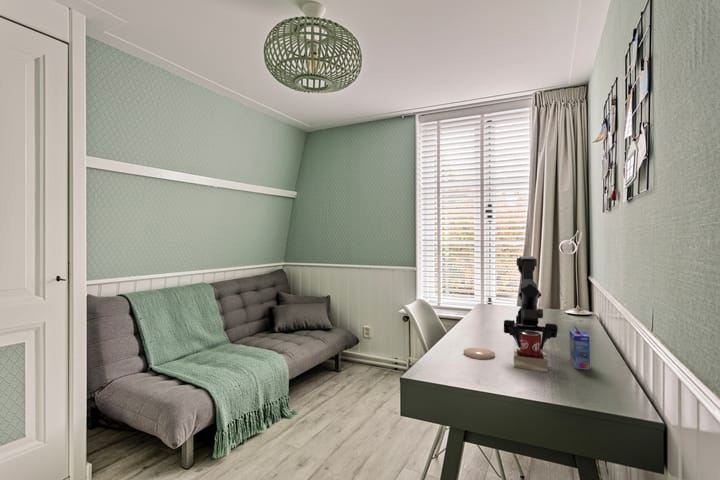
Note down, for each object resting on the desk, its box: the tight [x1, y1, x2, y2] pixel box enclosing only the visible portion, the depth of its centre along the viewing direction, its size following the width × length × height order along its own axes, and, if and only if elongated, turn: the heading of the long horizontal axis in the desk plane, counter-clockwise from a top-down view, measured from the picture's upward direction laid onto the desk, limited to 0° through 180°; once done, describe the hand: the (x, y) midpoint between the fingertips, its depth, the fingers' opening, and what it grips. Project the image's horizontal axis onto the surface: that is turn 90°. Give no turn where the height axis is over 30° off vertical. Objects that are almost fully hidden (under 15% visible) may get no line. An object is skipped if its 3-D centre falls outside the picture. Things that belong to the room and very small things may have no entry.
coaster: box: [463, 347, 496, 360], centre depth 157 cm, size 12×12×1 cm
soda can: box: [519, 331, 542, 359], centre depth 144 cm, size 7×7×12 cm
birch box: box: [513, 348, 549, 372], centre depth 144 cm, size 11×11×4 cm
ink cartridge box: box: [569, 325, 591, 371], centre depth 145 cm, size 10×6×14 cm, turn 161°
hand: (530, 348), depth 143 cm, fingers closed on soda can, 7 cm apart
